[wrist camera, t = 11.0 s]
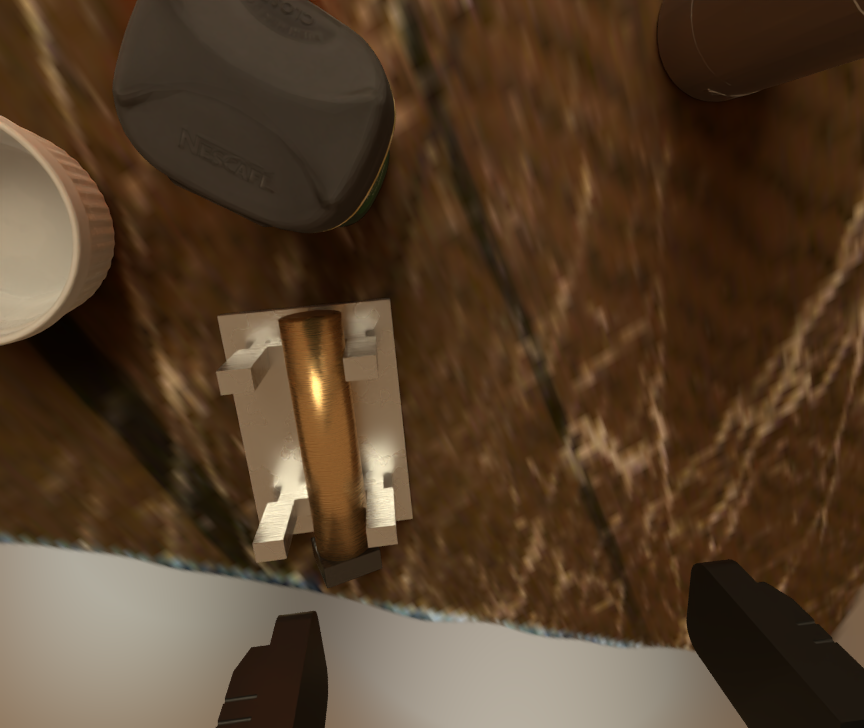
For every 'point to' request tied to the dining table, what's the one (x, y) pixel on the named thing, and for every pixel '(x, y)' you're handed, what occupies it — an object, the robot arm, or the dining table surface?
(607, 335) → the dining table surface
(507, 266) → the dining table surface
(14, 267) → the ramekin
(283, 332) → the tube
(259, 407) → the white holder rack
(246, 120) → the coffee jar
